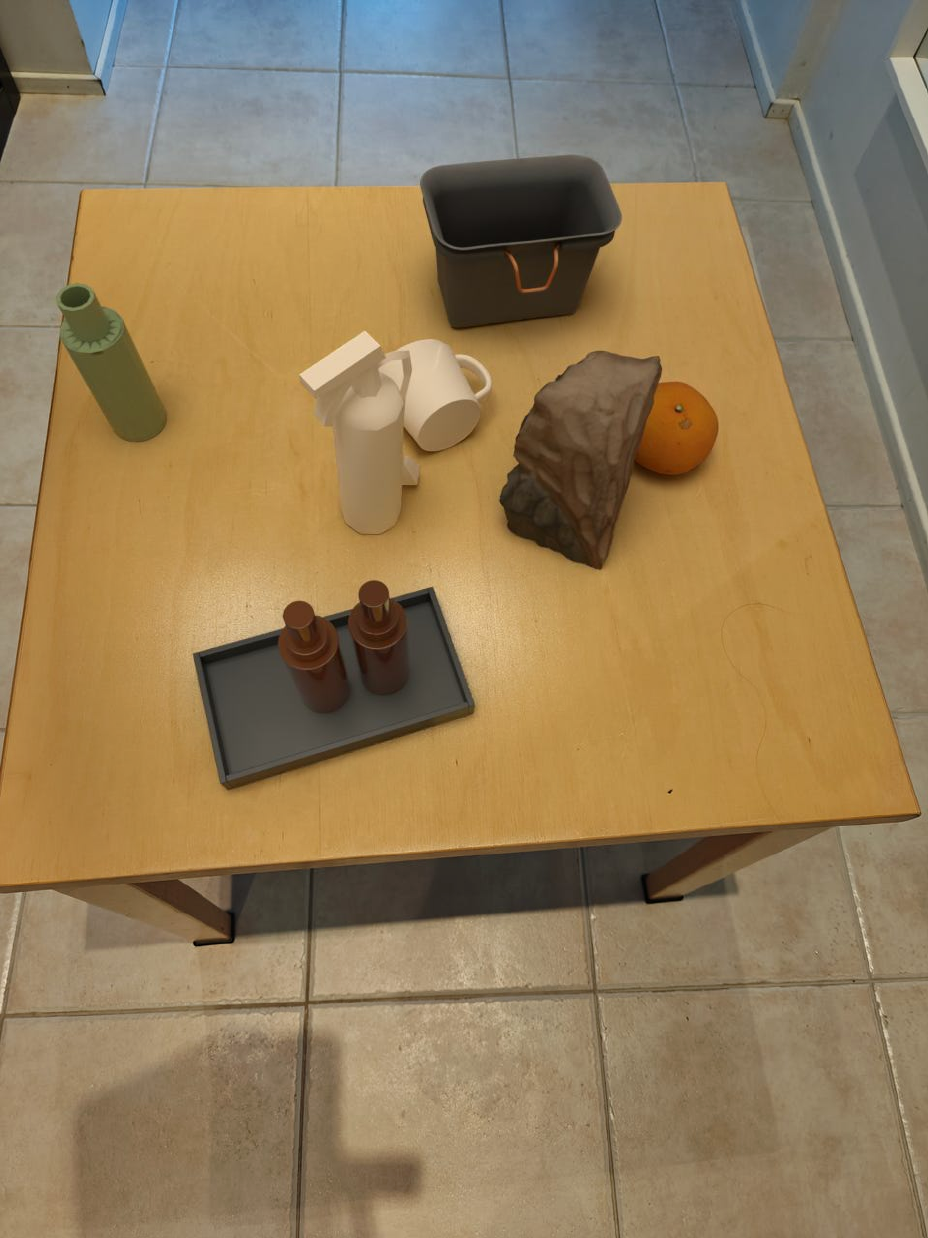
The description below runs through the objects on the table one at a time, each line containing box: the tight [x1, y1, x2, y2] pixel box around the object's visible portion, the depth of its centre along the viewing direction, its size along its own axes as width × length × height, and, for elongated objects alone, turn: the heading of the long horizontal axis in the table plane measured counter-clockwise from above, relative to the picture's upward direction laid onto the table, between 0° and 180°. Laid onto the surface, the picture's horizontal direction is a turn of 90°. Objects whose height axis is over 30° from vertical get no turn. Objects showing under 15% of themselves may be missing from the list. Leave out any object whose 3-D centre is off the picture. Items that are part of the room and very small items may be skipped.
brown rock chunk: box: [498, 350, 663, 570], centre depth 78 cm, size 13×13×20 cm
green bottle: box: [55, 282, 167, 443], centre depth 81 cm, size 6×6×18 cm
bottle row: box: [278, 579, 410, 713], centre depth 69 cm, size 11×5×18 cm, turn 109°
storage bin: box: [419, 154, 623, 329], centre depth 93 cm, size 21×16×14 cm
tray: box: [192, 586, 476, 791], centre depth 76 cm, size 24×13×3 cm, turn 109°
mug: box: [378, 338, 493, 452], centre depth 88 cm, size 12×9×8 cm
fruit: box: [634, 381, 720, 476], centre depth 87 cm, size 10×10×8 cm
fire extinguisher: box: [298, 330, 421, 535], centre depth 75 cm, size 7×12×25 cm, turn 129°
